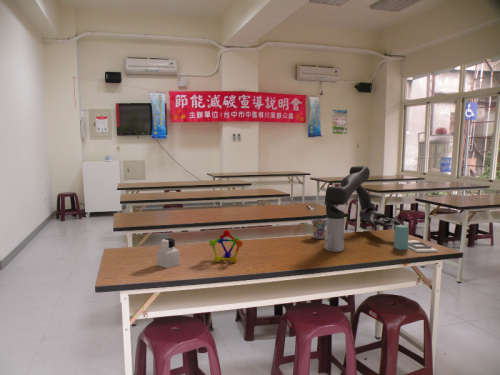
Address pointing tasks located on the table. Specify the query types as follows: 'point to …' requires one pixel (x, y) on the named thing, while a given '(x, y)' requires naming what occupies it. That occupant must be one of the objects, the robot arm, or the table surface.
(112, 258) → the table surface
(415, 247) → the baseplate
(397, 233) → the pillar
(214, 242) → the educational toy
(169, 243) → the grey block with knob
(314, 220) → the mug
